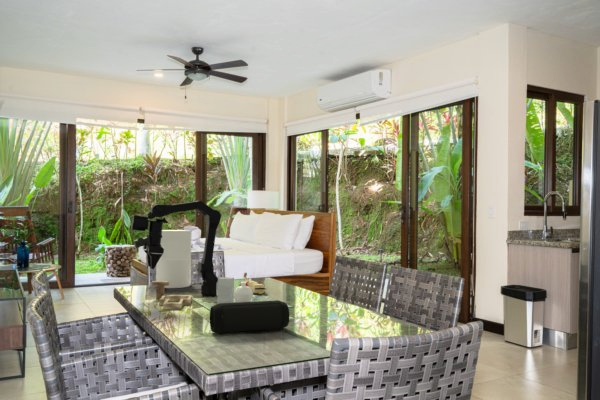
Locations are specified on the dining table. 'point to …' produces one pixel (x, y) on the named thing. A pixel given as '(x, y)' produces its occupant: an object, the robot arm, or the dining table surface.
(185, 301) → the keyhole cradle
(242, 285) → the white vase
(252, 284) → the cat figure
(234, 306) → the portable speaker
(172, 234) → the cylinder
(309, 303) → the dining table surface
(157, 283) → the tan brick
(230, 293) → the skincare box
